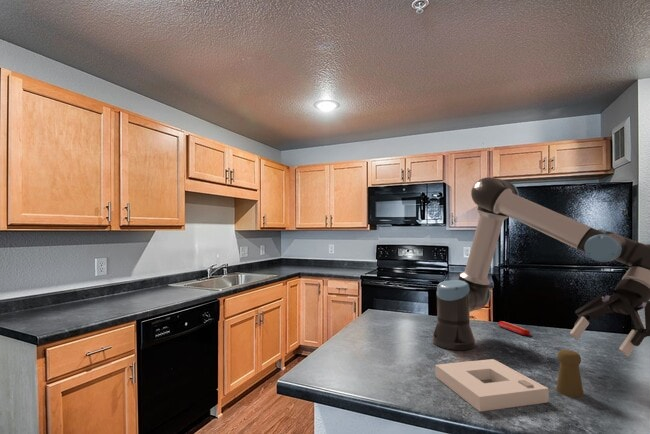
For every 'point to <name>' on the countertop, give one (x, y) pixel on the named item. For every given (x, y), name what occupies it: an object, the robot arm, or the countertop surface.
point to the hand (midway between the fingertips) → (596, 344)
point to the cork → (569, 374)
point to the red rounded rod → (514, 328)
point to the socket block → (491, 384)
